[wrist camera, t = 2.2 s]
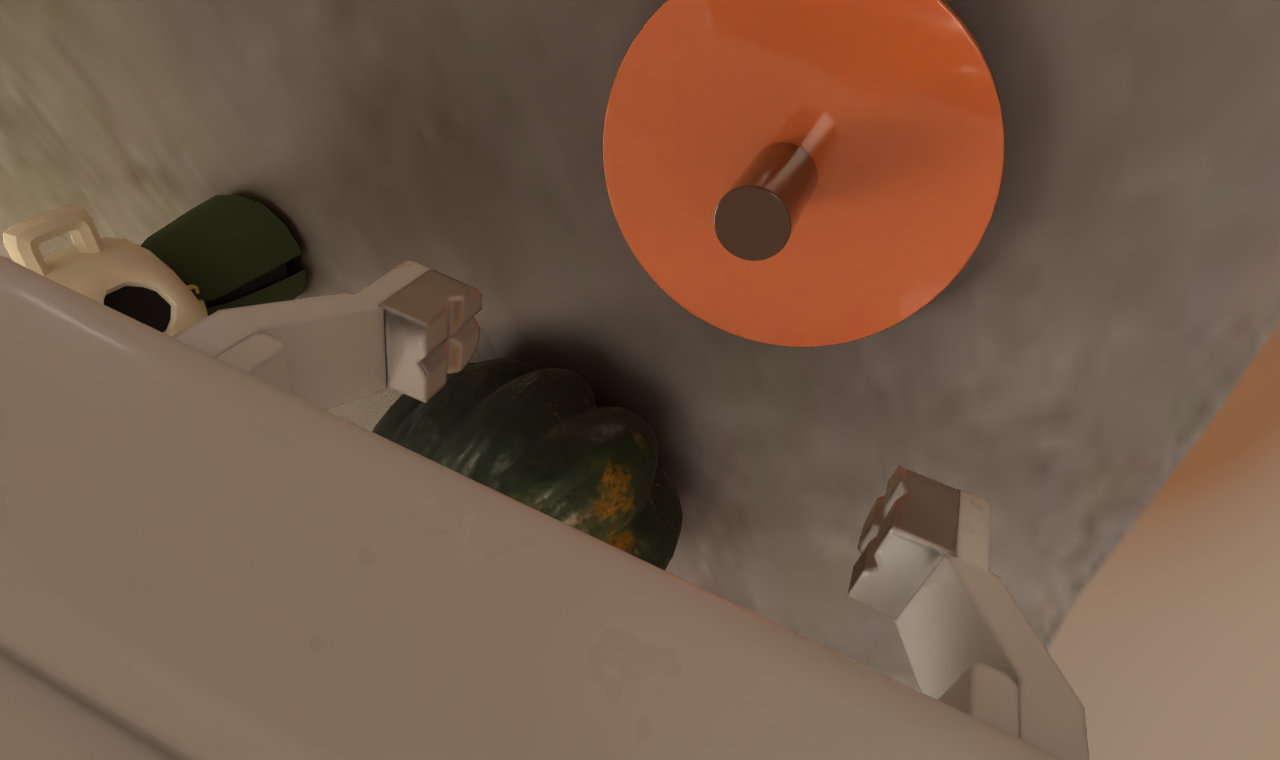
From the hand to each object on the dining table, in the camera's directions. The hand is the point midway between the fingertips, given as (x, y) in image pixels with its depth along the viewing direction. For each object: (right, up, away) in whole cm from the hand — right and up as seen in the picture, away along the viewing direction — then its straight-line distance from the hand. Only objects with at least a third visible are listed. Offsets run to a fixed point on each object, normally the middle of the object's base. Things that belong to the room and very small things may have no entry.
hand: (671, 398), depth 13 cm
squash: (-4, -3, +25) cm, 26 cm away
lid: (+5, +8, +13) cm, 15 cm away
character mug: (-21, +8, +26) cm, 34 cm away
